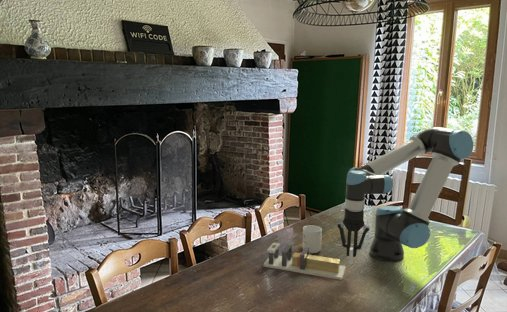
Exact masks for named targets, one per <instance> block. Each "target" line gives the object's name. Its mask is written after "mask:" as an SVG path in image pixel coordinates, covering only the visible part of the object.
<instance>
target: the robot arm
mask: <svg viewBox="0 0 507 312" xmlns="http://www.w3.org/2000/svg"><path fill="white" fill-rule="evenodd" d="M474 147H475V146H474V139H473V137H472V134H470V133H469V131H466V130H462V129H459V128H449V127H443V126H435V127H430V128H427V129H425V130H422V131H420V132H418V133H416V134H414V135H412V136H411V137H410V138H409V140H408V141H406V142H405V143H402V144H401V145H398V146H397V147H396V148H394V149H391V150H390V151H388V152H386V153H385V154H382V155H381V156H379V157H377V158H375V159H374V160H371V161H370V162H368V163H366V164H365V165H363V166H361V167H360V166H359V167H358V166H353V167H352V168H349V170H348V172H347V174H346V181H345V183H346V185H345V201H344V218H343V220H342V221H341V222H338V223H337V228H338V230H339V233H340V239H341V244H342V247H343V248H345V249H346V256H347V257H348V265H350V266H353V263H354V258H356V257H357V250H361V249H362V246H363V243H364V240H365V238H366V234H367V233H368V232H369V231H370V226H368V225H366V224H365V221H364V217H365V216H364V213H365V210H364V209H365V203H366V202H365V201H366V200H365V199H366V195H376V194H377V195H378V194H379V195H380V194H388V193H391V191H392V190H393V188H394V187H393V186H394V182H393V179H392V177H391V175H388V174H387V173H388V172H390V171H392V170H394V169H395V168H397V167H400V166H401V165H402V164H404V163H406V162H408V161H410V160H412V159H413V158H415V157H417V156H424V155H426V154H429V153H430V154H431V156H432V159H431V161H430V163H429V165H428V167H427V169H426V171H425V172H424V173H425V174H424V175H423V178H422V179H421V182H420V184H419V185H418V187H417V189H416V191H415V194H414V196H413V198H412V199H411V201H410V203H409V205H408V207H407V208H402V207H400V206H394V205H384V206H379V207H377V208H376V211H375V221H374V222H375V224H374V226H375V227H374V237H373V240H372V242H371V245H370V248H369V253H370V255H371V256H372V257H374V258H375V259H378V260H381V261H386V262H397V261H401V260H403V259H404V258H405V257H404V256H405V252H404V246H406V247H408V248H410V249H419V248H420V247H421V248H422V247H423V246H425V244H426V243H428V241H429V239H430V237H431V229H430V227H429V225H430V222H431V221H430V219H429V216H430V214H431V213H432V210H433V208H434V206H435V204H436V201H438V197H439V195H440V194H441V192H442V190H443V187H444V185H445V184H446V181H447V179H448V178H449V176H450V173H451V171H452V169H453V168H454V167H455V166H458V165H459V164H460V163H461V160H465V159H467V158H469V157H470V156H471V154H472V153H473V150H474ZM344 227H345V229H346V230H347V239H346V236H345V231H344ZM361 229H362V231H363V232H362V235H361V238H360V240H359V242H358V237H359V236H358V235H359V231H360V230H361ZM352 232H354V233H353V246H351V243H352ZM346 240H347V241H346ZM358 243H359V244H358Z"/></svg>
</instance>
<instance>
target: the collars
mask: <svg viewBox="0 0 507 312" xmlns="http://www.w3.org/2000/svg"><path fill="white" fill-rule="evenodd" d="M280 247H281V243H279V242H272V243H271V244H270V246H269V247H268V248H267V252H266V253H268V258H269V264H274V257H275V258H278V257H279V256H280V255H279V254H280ZM292 247H293V245H291V244H287V245H286V246H285V247H284V249H283V250H282V252H281V256H282V266H285V267H286V266H287V260H291V258H292V256H293V254H292V250H293V249H292ZM307 254H308V255H310V253H309V248H307V247H305V248H304V249H303V248H302V251H301V254H300V269H302V270H305V257H306V255H307Z"/></svg>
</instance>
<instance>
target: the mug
mask: <svg viewBox="0 0 507 312" xmlns="http://www.w3.org/2000/svg"><path fill="white" fill-rule="evenodd" d="M322 232H323V228H322V227H321V226H318V225H315V224H314V225H310V224H309V225H304V226H303V227H302V250H303V249H304V248H305V247H307V248H309V254H311V255H313V254H317V253H319V252H321V250H322V236H323V235H322Z"/></svg>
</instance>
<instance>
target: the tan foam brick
mask: <svg viewBox="0 0 507 312" xmlns="http://www.w3.org/2000/svg"><path fill="white" fill-rule="evenodd" d="M301 253H302V251H300V252H294V253H293V254H292V256H291V258H292V265H294V266H299V267H300V254H301ZM340 265H341V259H338V258H334V257H333V258H332V257H325V256H320V255H313V254H309V255H308V254H307V255H306V257H305V267H306V268H312V269H317V270H323V271H329V272H335V273H339V270H340Z"/></svg>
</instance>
